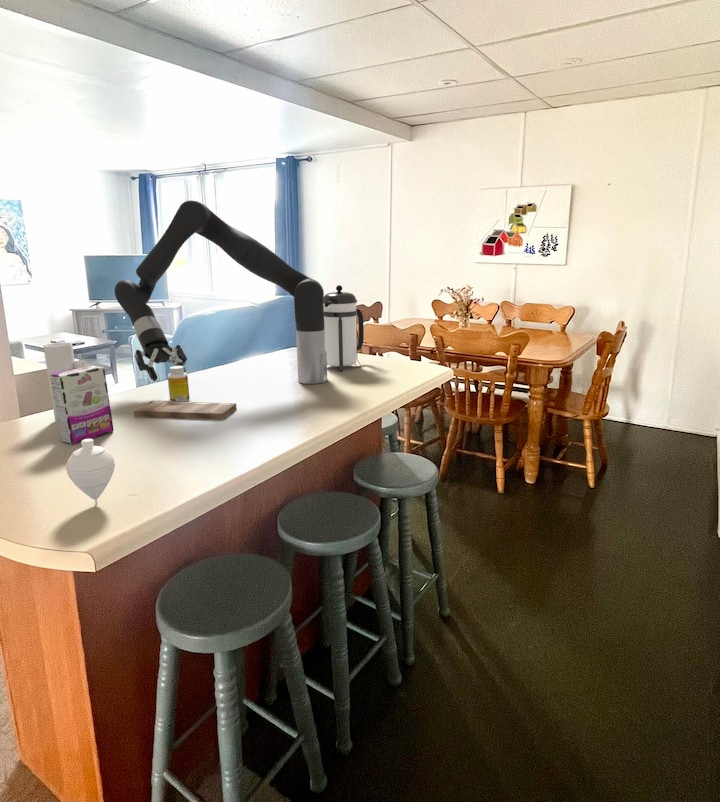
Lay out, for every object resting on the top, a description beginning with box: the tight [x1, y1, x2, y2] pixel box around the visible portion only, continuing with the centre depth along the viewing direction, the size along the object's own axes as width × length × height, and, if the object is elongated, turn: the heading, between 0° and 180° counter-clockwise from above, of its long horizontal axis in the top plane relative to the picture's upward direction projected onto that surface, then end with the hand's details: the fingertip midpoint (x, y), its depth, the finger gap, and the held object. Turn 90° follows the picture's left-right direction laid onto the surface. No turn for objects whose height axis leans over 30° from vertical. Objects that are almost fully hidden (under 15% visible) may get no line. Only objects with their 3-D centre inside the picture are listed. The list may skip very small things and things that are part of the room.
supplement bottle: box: [167, 365, 190, 402], centre depth 165 cm, size 6×6×10 cm
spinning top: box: [65, 438, 116, 505], centre depth 99 cm, size 8×8×12 cm
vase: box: [42, 342, 87, 424], centre depth 147 cm, size 11×7×20 cm, turn 66°
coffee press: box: [323, 284, 365, 372], centre depth 208 cm, size 17×16×30 cm
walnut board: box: [133, 400, 238, 420], centre depth 155 cm, size 25×10×2 cm, turn 82°
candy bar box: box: [50, 364, 115, 445], centre depth 134 cm, size 11×5×16 cm, turn 148°
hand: (169, 377), depth 168 cm, fingers open, 8 cm apart
